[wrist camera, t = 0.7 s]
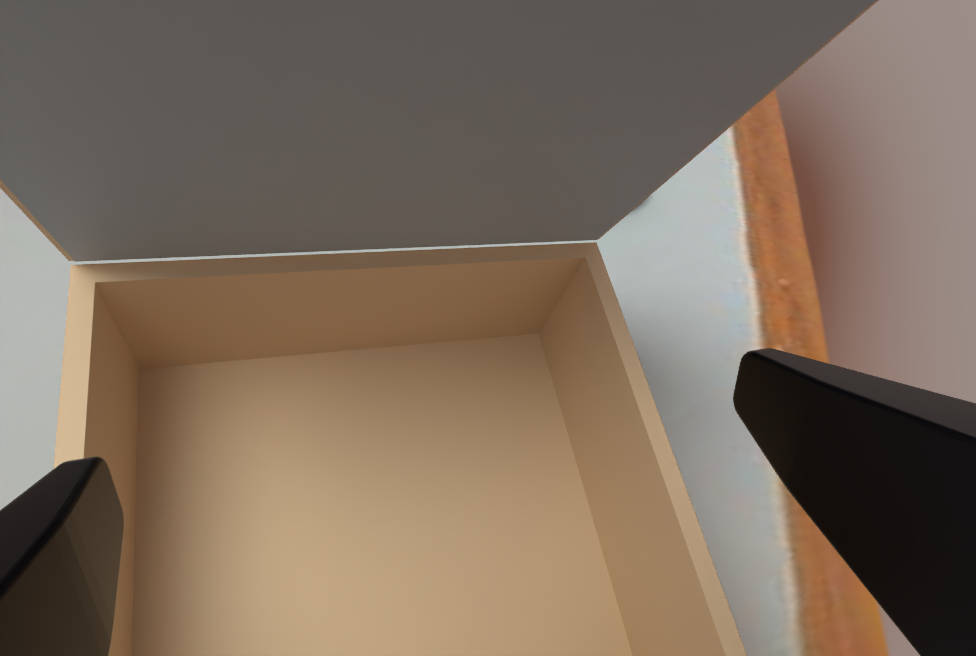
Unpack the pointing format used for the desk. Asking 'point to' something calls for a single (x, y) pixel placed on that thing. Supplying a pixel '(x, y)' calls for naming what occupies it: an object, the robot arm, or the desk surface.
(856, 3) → the mailer lid
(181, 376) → the mailer box
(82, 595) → the robot arm
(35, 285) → the desk surface
